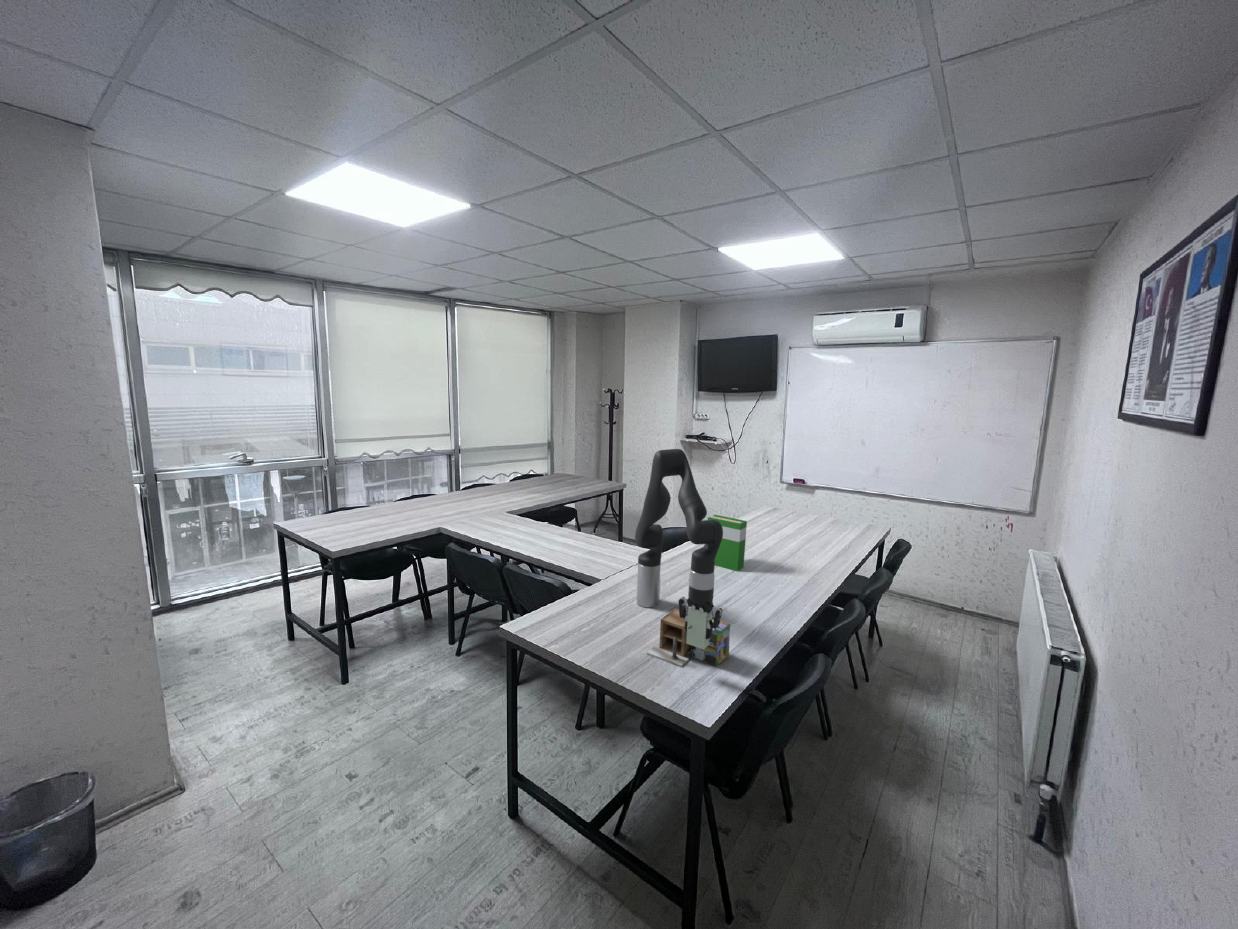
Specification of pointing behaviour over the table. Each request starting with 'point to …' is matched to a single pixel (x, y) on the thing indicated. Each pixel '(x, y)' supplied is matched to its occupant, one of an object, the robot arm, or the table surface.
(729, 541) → the hardback book
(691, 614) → the hollow square pipe
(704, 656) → the chalk box
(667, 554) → the table surface
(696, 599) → the robot arm
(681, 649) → the small wooden cupboard
